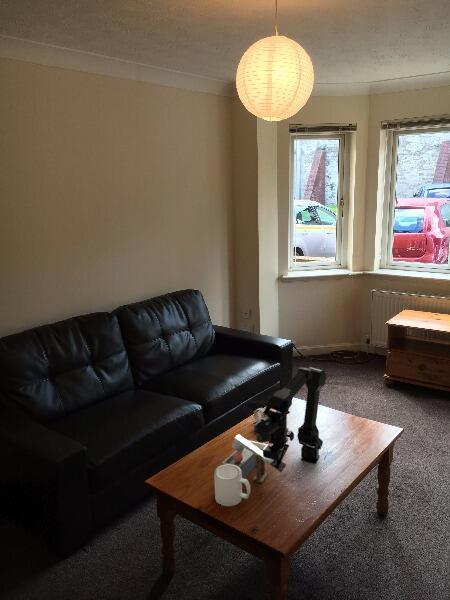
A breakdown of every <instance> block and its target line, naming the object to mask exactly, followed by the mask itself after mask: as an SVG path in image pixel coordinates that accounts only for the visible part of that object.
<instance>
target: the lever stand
mask: <svg viewBox="0 0 450 600" xmlns="http://www.w3.org/2000/svg"><path fill="white" fill-rule="evenodd" d="M260 450H262V451H264V449H260ZM265 463H266V462H265V461H263V460H262V459H261V456H260V455H259V454H256V466H255V470H256V471H255V473H256V474H255V475H254V477H253V478H252V482H256V483H260V484H264V482H265V480H266V478H267V477H268V476H269V472H266V470H265V469H266V468H265V467H266V464H265Z"/></svg>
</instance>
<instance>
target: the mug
mask: <svg viewBox="0 0 450 600" xmlns="http://www.w3.org/2000/svg"><path fill="white" fill-rule="evenodd" d="M213 474H214V475H213V476H214V497H215V498H214V499H215V501H216V503H217V504H219V505H220V504H221V506H223V507H233V506H236V505H238V504H240V503H241V502H242V500H243V499H245V500H247V499H249V496H250V493H251V484H250V482H249V480H248V478H246V479H243V478H242V471H241V469H240V468H239V467H238V466H236V465H232V464H225V465H222V464H221V465H219V466H217V467H216V468H214V472H213ZM243 484H244V487H245V488H246V493H244V492H243Z"/></svg>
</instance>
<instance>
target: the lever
mask: <svg viewBox="0 0 450 600" xmlns="http://www.w3.org/2000/svg"><path fill="white" fill-rule="evenodd" d="M231 447H232V449H233V450H234V449H235V451H236V450H237V451H238V452H240V453H242V452H243V450H244V448H246V449H248V450H249V451H251V452H252V453H253V454H255V455H256V454H259V455H260V456H261V459H262V460H263V461H265V463H266V464H268V466H271V467H272V468H274V469H275V470H276V471H277V472H279V473H280V474H282V472H283V471H284V469H285V467H286V466H287V464H286V463H284V462H283V461H282V462H281V464H280V465H279V464H277V462H276V460H273V459H269V458H265V457H263V451H262V450H260V449H259V448H257V447H256V446H255V445H253V444H252V443H250V442H249V441H248V439H246V438H244V437H243V436H242V435H241V434H236V436H235V437H234V439H233V442H232V445H231Z"/></svg>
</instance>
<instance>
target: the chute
mask: <svg viewBox="0 0 450 600" xmlns="http://www.w3.org/2000/svg"><path fill="white" fill-rule="evenodd" d="M237 452H238V451H237V450H236V449H235V450H234V451H233V452H232V453H231V454H230V455H228V457H227V458H225V460H223V461H222V462H221V465H225V464H232V465H236V466H238V467H239V468H240V469H241V471H242V478H243V479H247V478H248V477H249V475H250V473H251V472H252V471H253V469H254V468H256V455H255V454H253V453H252V452H247V451H243V452H242V453H241V454H242V455H243V460H242V461H241V462H240V463H237V462H235V461H234V460H233V455H234V454H235V453H237ZM239 453H240V452H239Z"/></svg>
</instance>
